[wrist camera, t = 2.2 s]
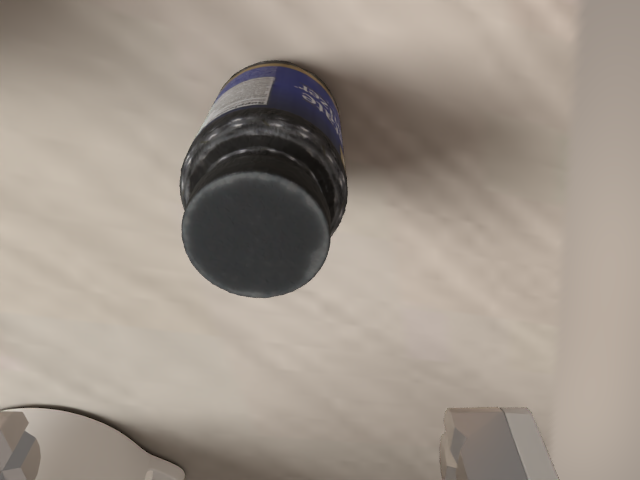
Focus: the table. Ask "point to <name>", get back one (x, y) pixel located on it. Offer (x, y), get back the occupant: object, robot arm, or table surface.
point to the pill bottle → (264, 182)
